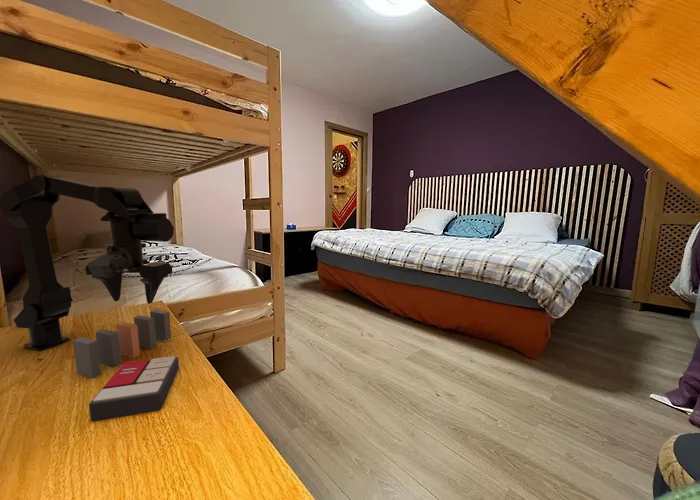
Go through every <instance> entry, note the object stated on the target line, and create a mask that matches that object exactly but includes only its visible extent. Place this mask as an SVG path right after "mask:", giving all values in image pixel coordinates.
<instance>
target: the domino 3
mask: <svg viewBox="0 0 700 500" xmlns="http://www.w3.org/2000/svg"><path fill="white" fill-rule="evenodd" d="M115 328H116V332H118V336H119V344H120V353H121V355H122V356H124V357H125V356H126V357H130V358H137V357H138V356H140V355H141V351H140V349H141V348H140V347H139V339H138V329H137V325H136V324H134V323H131V322H125V321H121V322H117V323H115Z"/></svg>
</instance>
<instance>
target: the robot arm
mask: <svg viewBox="0 0 700 500" xmlns="http://www.w3.org/2000/svg"><path fill="white" fill-rule="evenodd" d="M61 196H65V197H70V198H73V199H78V200H82V201H86V202H90V203H93V204H94V205H95V206H97V207H98V208H99V209H102V210H105V211H107V212H106V214H105V215H102V217H101V218H100V219H99V220H100V221H101V222H109V227H110V228H109V229H110V238H111V245H107V247H106V253H105V254H102V255H100V256H98V257H96V258H95V259H94V260H91V261H90V262H88V263H87V264H86V265H85V274H86V275H88V276H89V275H90V276H91V278H92V279H96V280H98V281H100V282H101V283H102V284H103V285H104V286H105V288H106V290H107V291H108V293H109V296H111V298H112V300H113V301H114V302H118V301H119V300H121V299H120V298H121V294H122V293H121V292H122V280H123V273H135V274H138V273H139V276H140V277H141V278H140V279H139V281H140V282H141V283H142V284H143V285H144V291H145V298H146V303H147V304H148V305H149V304H152V303H153V302H154V299H155V296H156V294H157V292H158V290H159V288H160V287H161V284H162V283H163V280H164V279H165V278H167V277H168V276H169V275H172V274H173V266H172V265H171V263H169V262H164V261H162V262H160V261H154V262H151V263H149V262H148V259H147V258H144V254H143V248H147V245H146V244H147V243H146V242H158V243H159V242H161V243H162V242H163V243H165V242H166V243H168V242H169V241H171V240H172V238H173V236H174V233H175V232H174V226H173V223H172V222H171V220H170V219H168V218H167V213H166V212H157V213H156V212H155V213H154V211H153V210H152V209H151V207H150V206H149V205H148V203H146V201H145V200H144V198H143V197H142V194H141V193H140V190H138V189H136V188H134V187H121V186H120V187H117V186H101V185H98V184H97V185H96V184H92V183H87V182H84V181H79V180H74V179H70V178H65V177H63V176H60V175H54V174H40V173H39V174H36V175H33V177H31V178H30V179H29V180H27V181H24V182H23V183H20V184H17V185H14V186H12V187H11V188H9V189H8V190H6V191H4V193H3V194H2V196H0V209H1V211H2V214H3V217H4V218H5V220H7V221H8V222H9V223H10V224H11V225H13V227H15V228H16V230H17V234H18V239H19V243H20V248H21V252H22V257H23V262H24V267H25V271H26V276H27V280H28V284H29V285H28V287H27V290H26V291H25V293H24V295H23V296H22V307H23V308H22V309H21V311H19V313H18V314H17V315H16V316H15V317H14V319H13V323H14V324H15V326H16V327H17V328H19V329H28V333H29V339H30V342H28V343H24V344H23V346H24V348H28V349H31V350H35V351H38V352H39V351H40V352H41V351H42V350H45V349H48V348H52V347H54V346H57V345H58V344H62V343H65V342H67V341H70V337H66V336H63V335H62V330H61V322H60V319H61V318H64V317H69V314H70V310H71V307H72V302H73V301H74V300H73V297H72V294H71V288H70V287H69V286H65V287H64V286H63V285H62V284H61V283H60V282H59V281H58V279H57V274H56V273H57V272H56V267H55V264H54V257H53V254H52V249H51V244H50V238H49V233H48V229H47V228H48V227H47V226H48V225H49V223H50V221H51V219H52V217H53V206H55V205H56V204H57V203H59V202H60V201H61Z"/></svg>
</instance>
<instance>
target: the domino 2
mask: <svg viewBox="0 0 700 500" xmlns="http://www.w3.org/2000/svg"><path fill="white" fill-rule="evenodd" d="M95 339H96V340H95V341H97V348H98V355H99V363H100V365H104V366H109V367H111V368H116V367H119V366H122V365H123V363H122V356H121V353H120V344H119V336H118V332H117V331H114V330H109V329H104V328H102V329H99V330H96V331H95Z"/></svg>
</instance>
